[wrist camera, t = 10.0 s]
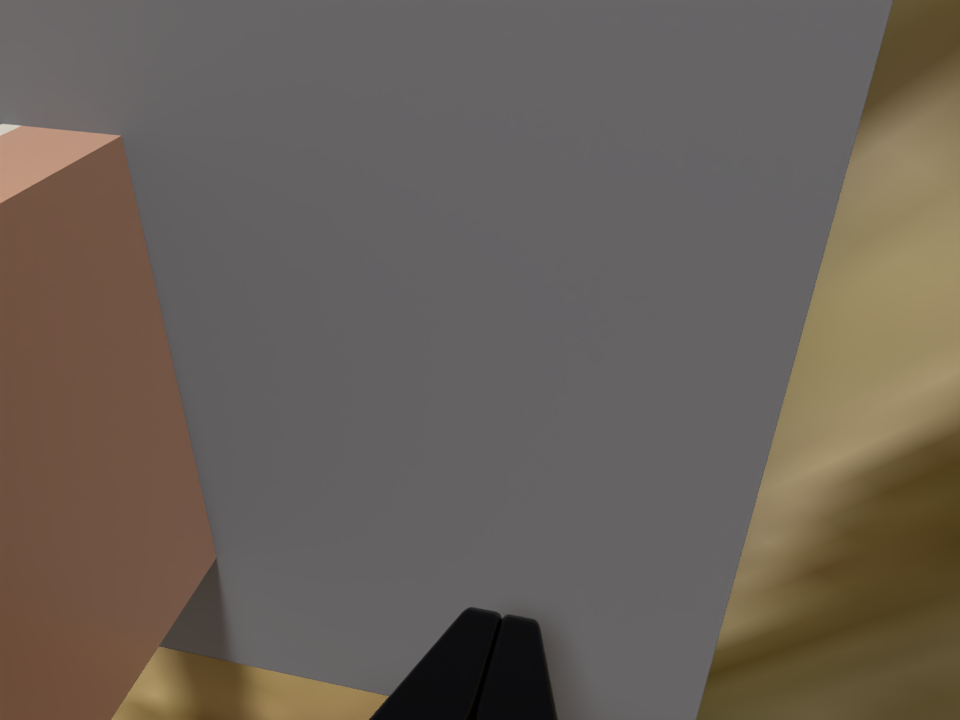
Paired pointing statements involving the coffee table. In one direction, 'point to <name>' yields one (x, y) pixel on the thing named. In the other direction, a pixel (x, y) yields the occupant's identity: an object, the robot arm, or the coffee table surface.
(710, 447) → the mat
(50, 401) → the tile
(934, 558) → the coffee table surface
